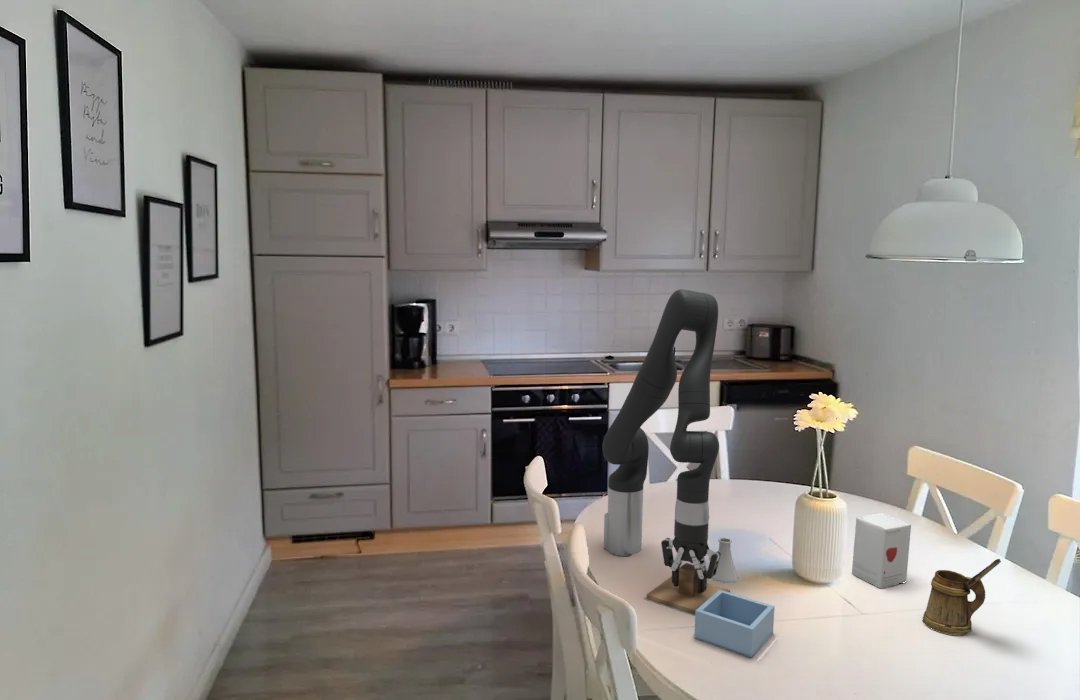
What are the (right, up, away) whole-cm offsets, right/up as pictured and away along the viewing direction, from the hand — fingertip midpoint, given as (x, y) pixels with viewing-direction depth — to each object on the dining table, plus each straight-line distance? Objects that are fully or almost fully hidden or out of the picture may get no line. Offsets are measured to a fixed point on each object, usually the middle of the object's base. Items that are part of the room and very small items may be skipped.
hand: (688, 588), depth 165 cm
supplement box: (+49, -2, +12) cm, 51 cm away
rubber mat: (0, -2, 0) cm, 2 cm away
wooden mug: (+54, -5, -12) cm, 56 cm away
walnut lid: (0, -2, 0) cm, 2 cm away
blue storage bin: (+6, -5, -17) cm, 18 cm away
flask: (+11, -1, +11) cm, 15 cm away
